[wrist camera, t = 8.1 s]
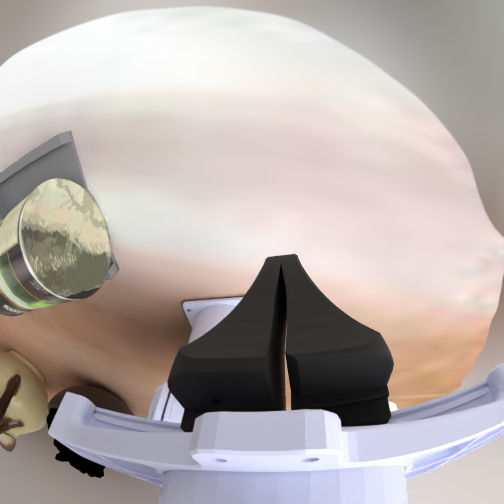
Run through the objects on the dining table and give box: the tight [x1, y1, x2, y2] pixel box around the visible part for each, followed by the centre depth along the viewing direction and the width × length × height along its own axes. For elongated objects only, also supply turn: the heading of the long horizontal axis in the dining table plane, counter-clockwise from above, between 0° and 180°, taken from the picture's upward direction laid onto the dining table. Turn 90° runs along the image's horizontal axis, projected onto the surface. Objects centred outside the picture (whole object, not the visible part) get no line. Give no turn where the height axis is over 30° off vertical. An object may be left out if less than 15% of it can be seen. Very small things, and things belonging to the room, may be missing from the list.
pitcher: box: [0, 350, 49, 452], centre depth 35 cm, size 22×24×25 cm
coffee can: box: [0, 178, 111, 316], centre depth 20 cm, size 10×10×14 cm
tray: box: [0, 131, 119, 280], centre depth 23 cm, size 15×16×2 cm
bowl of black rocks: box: [46, 386, 134, 478], centre depth 35 cm, size 20×20×19 cm
